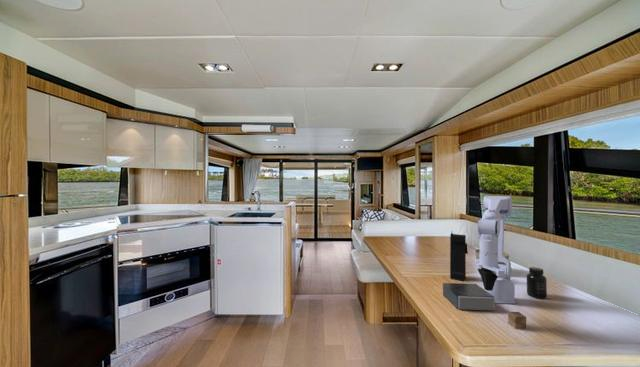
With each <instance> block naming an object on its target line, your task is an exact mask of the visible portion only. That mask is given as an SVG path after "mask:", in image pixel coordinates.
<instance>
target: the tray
mask: <svg viewBox="0 0 640 367" xmlns="http://www.w3.org/2000/svg"><path fill="white" fill-rule="evenodd" d="M458 308H459V309H458V310H471V311H472V310H473V311H495V303H494V298H493V297H468V296H458Z"/></svg>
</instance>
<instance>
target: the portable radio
mask: <svg viewBox="0 0 640 367" xmlns="http://www.w3.org/2000/svg"><path fill="white" fill-rule="evenodd" d="M466 237H467V236H466V235H465V234H459V233H458V234H457V233H453V232H451V233H450V235H449V238H450V240H449V241H450V244H449V245H450V248H449V250H450V251H449V252H450V253H449V267H450V268H449V270H450V271H449V272H450V273H449V274H450V276H449V278H450V279H452V280H457V281H460V282H461V281H462V282H465V281H466V278H467V277H466V274H467V273H466V272H467V271H466V268H467V267H466V266H467V262H466V261H467V260H466V259H467V258H466V255H468V253H469V252H468V243H467V239H466Z"/></svg>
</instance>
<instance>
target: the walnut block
mask: <svg viewBox="0 0 640 367" xmlns="http://www.w3.org/2000/svg"><path fill="white" fill-rule="evenodd" d="M507 312H508V313H507V317H508V319H507V321H508V322H507V323H508V325H510V326H511V327H513V328H514V329H515V330H517V329H518V330H522V329H523V330H527V316H526V315H524V313H521V312H519V311H507Z"/></svg>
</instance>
